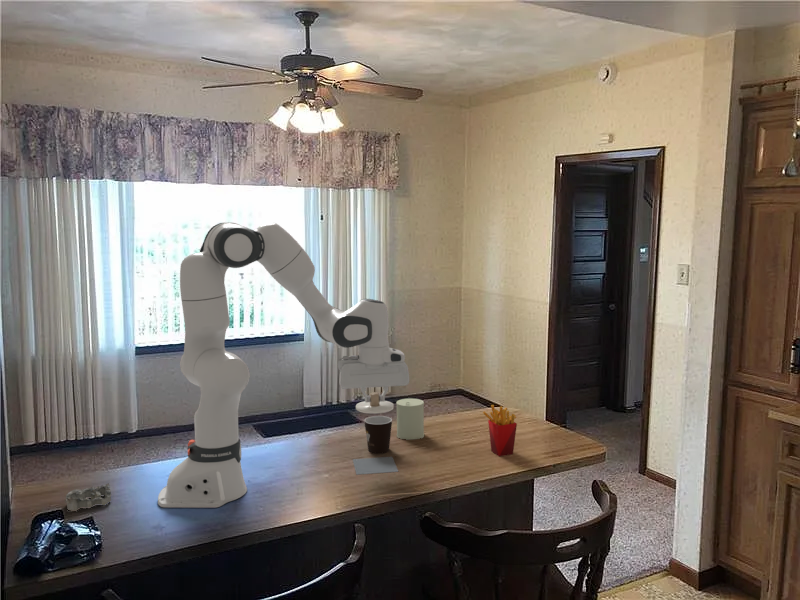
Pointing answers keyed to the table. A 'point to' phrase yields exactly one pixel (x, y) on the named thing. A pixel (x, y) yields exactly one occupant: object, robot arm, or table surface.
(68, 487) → the table surface
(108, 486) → the egg carton
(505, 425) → the french fries
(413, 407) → the can
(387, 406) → the lid
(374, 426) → the dark brown two-tone container
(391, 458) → the mat
